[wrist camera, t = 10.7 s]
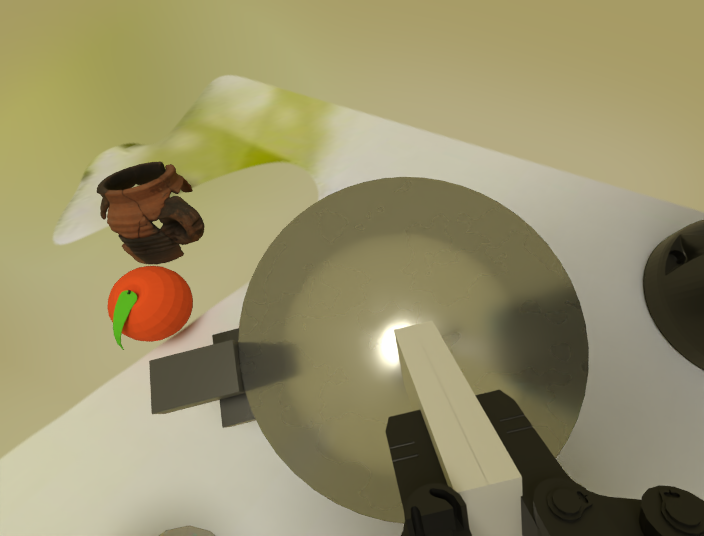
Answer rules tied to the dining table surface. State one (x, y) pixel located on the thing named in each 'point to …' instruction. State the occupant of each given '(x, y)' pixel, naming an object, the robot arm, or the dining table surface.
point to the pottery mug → (150, 212)
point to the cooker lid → (388, 330)
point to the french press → (187, 532)
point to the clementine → (149, 304)
